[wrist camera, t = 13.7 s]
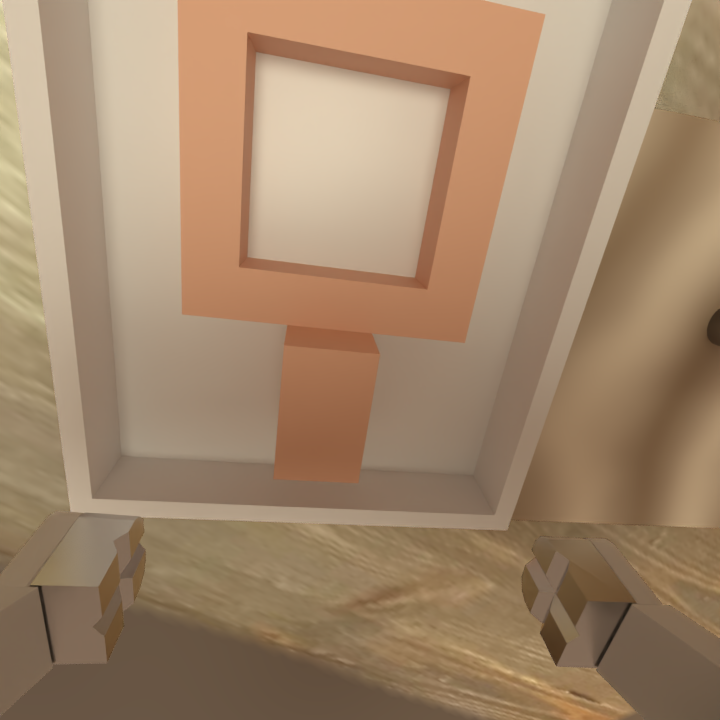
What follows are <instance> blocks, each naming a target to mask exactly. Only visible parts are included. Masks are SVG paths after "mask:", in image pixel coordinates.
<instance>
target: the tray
mask: <svg viewBox="0 0 720 720" xmlns="http://www.w3.org/2000/svg"><path fill="white" fill-rule="evenodd" d="M484 1H489V2H493V3H498V4H502V5H506V6H511V7H515V8H520V9H524V10H528V11H533V12H537V13H542V14H546V15H545V19H544V23H543V27H542V31H541V35H540V39H539V43H538V47H537V51H536V55H535V59H534V63H533V67H532V72H531V76H530V80H529V84H528V88H527V92H526V96H525V100H524V104H523V108H522V112H521V116H520V120H519V124H518V128H517V133H516V137H515V141H514V145H513V149H512V153H511V157H510V161H509V165H508V169H507V173H506V177H505V181H504V185H503V189H502V194H501V198H500V202H499V206H498V210H497V214H496V218H495V222H494V226H493V230H492V234H491V238H490V242H489V246H488V250H487V255H486V259H485V263H484V267H483V271H482V275H481V279H480V283H479V287H478V291H477V295H476V299H475V303H474V307H473V311H472V316H471V320H470V324H469V328H468V332H467V336H466V340H465V343H461V342H451V341H441V340H431V339H421V338H411V337H401V336H391V335H381V334H372V335H373V337H374V340H375V343H376V345H377V348H378V350H379V353H380V358H379V364H378V370H377V376H376V382H375V388H374V394H373V399H372V405H371V411H370V417H369V423H368V429H367V435H366V441H365V447H364V452H363V458H362V464H361V470H360V476H359V482H358V483H342V482H321V481H300V480H279V479H273V476H274V464H275V451H276V439H277V426H278V414H279V401H280V388H281V376H282V363H283V351H284V342H285V336H286V330H287V325H282V324H272V323H262V322H252V321H242V320H232V319H223V318H213V317H203V316H193V315H183V314H182V283H181V212H180V140H179V69H178V0H2V2H3V9H4V17H5V24H6V32H7V39H8V47H9V54H10V62H11V69H12V77H13V84H14V91H15V99H16V106H17V114H18V121H19V129H20V136H21V144H22V151H23V159H24V166H25V174H26V181H27V189H28V196H29V204H30V211H31V219H32V226H33V234H34V241H35V249H36V256H37V264H38V271H39V279H40V286H41V294H42V301H43V309H44V316H45V324H46V331H47V339H48V346H49V354H50V361H51V369H52V376H53V384H54V391H55V399H56V406H57V414H58V421H59V429H60V436H61V444H62V451H63V459H64V466H65V474H66V481H67V489H68V496H69V503H70V511H71V512H79V513H85V512H88V513H101V514H115V515H128V516H140V517H147V518H175V519H203V520H230V521H258V522H286V523H313V524H341V525H369V526H396V527H424V528H452V529H479V530H507V529H508V527H509V524H510V521H511V518H512V515H513V512H514V509H515V506H516V504H517V501H518V498H519V495H520V492H521V489H522V486H523V484H524V481H525V478H526V475H527V472H528V469H529V466H530V463H531V461H532V458H533V455H534V452H535V449H536V446H537V443H538V440H539V438H540V435H541V432H542V429H543V426H544V423H545V420H546V418H547V415H548V412H549V409H550V406H551V403H552V400H553V397H554V395H555V392H556V389H557V386H558V383H559V380H560V377H561V375H562V372H563V369H564V366H565V363H566V360H567V357H568V354H569V352H570V349H571V346H572V343H573V340H574V337H575V334H576V331H577V329H578V326H579V323H580V320H581V317H582V314H583V311H584V309H585V306H586V303H587V300H588V297H589V294H590V291H591V288H592V286H593V283H594V280H595V277H596V274H597V271H598V268H599V265H600V263H601V260H602V257H603V254H604V251H605V248H606V245H607V243H608V240H609V237H610V234H611V231H612V228H613V225H614V222H615V220H616V217H617V214H618V211H619V208H620V205H621V202H622V200H623V197H624V194H625V191H626V188H627V185H628V182H629V179H630V177H631V174H632V171H633V168H634V165H635V162H636V159H637V156H638V154H639V151H640V148H641V145H642V142H643V139H644V136H645V134H646V131H647V128H648V125H649V122H650V119H651V116H652V113H653V111H654V108H655V105H656V102H657V99H658V96H659V93H660V91H661V88H662V85H663V82H664V79H665V76H666V73H667V70H668V68H669V65H670V62H671V59H672V56H673V53H674V50H675V47H676V45H677V42H678V39H679V36H680V33H681V30H682V27H683V25H684V22H685V19H686V16H687V13H688V10H689V7H690V4H691V2H692V0H484ZM449 95H450V89H447V88H442V87H437V86H431V85H426V84H421V83H416V82H410V81H405V80H400V79H395V78H390V77H384V76H379V75H374V74H369V73H364V72H358V71H353V70H348V69H343V68H338V67H332V66H327V65H322V64H317V63H312V62H306V61H301V60H296V59H291V58H285V57H280V56H275V55H270V54H265V53H259V52H256V64H255V88H254V111H253V135H252V159H251V182H250V206H249V229H248V253H247V257H250V258H258V259H266V260H274V261H283V262H291V263H299V264H307V265H315V266H323V267H332V268H340V269H348V270H356V271H364V272H373V273H381V274H389V275H397V276H405V277H413V278H415V275H416V269H417V264H418V259H419V254H420V248H421V243H422V238H423V232H424V227H425V222H426V216H427V211H428V206H429V201H430V195H431V190H432V185H433V179H434V174H435V169H436V164H437V158H438V153H439V148H440V142H441V137H442V132H443V126H444V121H445V116H446V111H447V105H448V100H449Z"/></svg>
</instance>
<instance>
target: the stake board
mask: <svg viewBox="0 0 720 720" xmlns="http://www.w3.org/2000/svg"><path fill="white" fill-rule="evenodd" d="M511 520H524V521H549V522H574V523H599V524H623V525H648V526H673V527H698V528H720V121H715V120H710V119H705V118H701V117H696V116H691V115H686V114H681V113H676V112H671V111H666V110H661V109H657V108H654V111H653V113H652V116H651V119H650V122H649V125H648V128H647V131H646V134H645V136H644V139H643V142H642V145H641V148H640V151H639V154H638V156H637V159H636V162H635V165H634V168H633V171H632V174H631V177H630V179H629V182H628V185H627V188H626V191H625V194H624V197H623V200H622V202H621V205H620V208H619V211H618V214H617V217H616V220H615V222H614V225H613V228H612V231H611V234H610V237H609V240H608V243H607V245H606V248H605V251H604V254H603V257H602V260H601V263H600V265H599V268H598V271H597V274H596V277H595V280H594V283H593V286H592V288H591V291H590V294H589V297H588V300H587V303H586V306H585V309H584V311H583V314H582V317H581V320H580V323H579V326H578V329H577V331H576V334H575V337H574V340H573V343H572V346H571V349H570V352H569V354H568V357H567V360H566V363H565V366H564V369H563V372H562V375H561V377H560V380H559V383H558V386H557V389H556V392H555V395H554V397H553V400H552V403H551V406H550V409H549V412H548V415H547V418H546V420H545V423H544V426H543V429H542V432H541V435H540V438H539V440H538V443H537V446H536V449H535V452H534V455H533V458H532V461H531V463H530V466H529V469H528V472H527V475H526V478H525V481H524V484H523V486H522V489H521V492H520V495H519V498H518V501H517V504H516V506H515V509H514V512H513V515H512V518H511Z"/></svg>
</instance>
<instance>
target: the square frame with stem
mask: <svg viewBox="0 0 720 720" xmlns="http://www.w3.org/2000/svg"><path fill="white" fill-rule="evenodd" d="M545 15H546V14H542V13H537V12H533V11H528V10H524V9H520V8H515V7H511V6H506V5H502V4H498V3H493V2H489V1H484V0H178V69H179V140H180V212H181V283H182V314H183V315H193V316H203V317H213V318H223V319H232V320H242V321H252V322H262V323H272V324H282V325H287V330H286V336H285V342H284V351H283V363H282V376H281V388H280V401H279V414H278V426H277V439H276V451H275V464H274V476H273V479H279V480H300V481H321V482H342V483H358V482H359V476H360V470H361V464H362V458H363V452H364V447H365V441H366V435H367V429H368V423H369V417H370V411H371V405H372V399H373V394H374V388H375V382H376V376H377V370H378V364H379V358H380V353H379V350H378V348H377V345H376V343H375V340H374V337H373V335H372V334H381V335H391V336H401V337H411V338H421V339H431V340H441V341H451V342H461V343H465V340H466V336H467V332H468V328H469V324H470V320H471V316H472V311H473V307H474V303H475V299H476V295H477V291H478V287H479V283H480V279H481V275H482V271H483V267H484V263H485V259H486V255H487V250H488V246H489V242H490V238H491V234H492V230H493V226H494V222H495V218H496V214H497V210H498V206H499V202H500V198H501V194H502V189H503V185H504V181H505V177H506V173H507V169H508V165H509V161H510V157H511V153H512V149H513V145H514V141H515V137H516V133H517V128H518V124H519V120H520V116H521V112H522V108H523V104H524V100H525V96H526V92H527V88H528V84H529V80H530V76H531V72H532V67H533V63H534V59H535V55H536V51H537V47H538V43H539V39H540V35H541V31H542V27H543V23H544V19H545ZM256 52H259V53H265V54H270V55H275V56H280V57H285V58H291V59H296V60H301V61H306V62H312V63H317V64H322V65H327V66H332V67H338V68H343V69H348V70H353V71H358V72H364V73H369V74H374V75H379V76H384V77H390V78H395V79H400V80H405V81H410V82H416V83H421V84H426V85H431V86H437V87H442V88H447V89H450V95H449V100H448V105H447V111H446V116H445V121H444V126H443V132H442V137H441V142H440V148H439V153H438V158H437V164H436V169H435V174H434V179H433V185H432V190H431V195H430V201H429V206H428V211H427V216H426V222H425V227H424V232H423V238H422V243H421V248H420V254H419V259H418V264H417V269H416V275H415V278H413V277H405V276H397V275H389V274H381V273H373V272H364V271H356V270H348V269H340V268H332V267H323V266H315V265H307V264H299V263H291V262H283V261H274V260H266V259H258V258H250V257H247V253H248V229H249V206H250V182H251V159H252V135H253V111H254V88H255V64H256Z"/></svg>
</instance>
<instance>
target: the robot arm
mask: <svg viewBox="0 0 720 720" xmlns="http://www.w3.org/2000/svg"><path fill="white" fill-rule="evenodd" d="M143 534H144V522H143V518H141V517H140V516H128V515H115V514H101V513H88V512H85V513H79V512H67V511H55V512H54V513H52V514H50V515H49V516H48V517H47V518H46V519H45V520H44V521H43V523H42V524H41V525H40V526H39V527H38V529H37V530H36V531H35V532H34V534H33V535H32V536H31V537H30V539H29V540H28V541H27V542H26V543H25V545H24V546H23V547H22V548H21V550H20V551H19V552H18V553H17V555H16V556H15V557H14V558H13V559H12V561H11V562H10V563H9V564H8V566H7V567H6V568H5V569H4V571H3V572H2V573H1V574H0V716H1V715H2V714H3V713H4V712H5V711H6V710H8V708H10V707H11V706H12V705H13V704H14V703H15V702H16V701H17V700H18V699H19V698H21V697H22V696H23V695H24V694H25V693H26V692H27V691H28V690H29V689H30V688H31V687H32V686H33V685H35V684H36V683H37V682H38V681H39V680H40V679H41V678H42V677H43V676H44V675H45V674H47V673H48V672H49V671H50V670H51V669H52V668H53V665H52V664H90V663H107V662H108V660H109V658H110V656H111V654H112V651H113V649H114V647H115V645H116V642H117V640H118V638H119V635H120V633H121V631H122V629H123V627H124V621H123V611H124V610H125V609H127V608H128V607H129V606H131V605H132V604H133V603H134V602H135V599H136V597H137V594H138V592H139V590H140V587H141V583H142V579H143V576H144V572H145V563H146V551H145V549H144V548H143V547H142V546H141V544H140V543H139V542H140V540H141V538H142V536H143ZM532 551H533V554H534V556H535V558H534V559H533V560H531V561H530V562H529V563H528V564H526V565H525V568H524V571H523V574H522V592H523V596H524V600H525V603H526V605H527V607H528V609H529V611H530V613H531V614H532V615H533V616H535V617H536V618H537V619H538V620H539V621H540V622H541V623H542V626H541V631H540V634H541V636H542V638H543V640H544V642H545V644H546V646H547V648H548V651H549V653H550V655H551V657H552V659H553V661H554V663H555V665H556V666H559V667H584V668H597V669H596V671H597V672H598V673H599V674H600V675H601V676H602V677H603V678H604V679H605V680H606V681H607V682H608V683H609V684H610V685H611V686H612V687H613V688H614V689H615V690H616V691H617V692H618V693H619V694H620V695H621V696H622V697H623V698H624V699H625V700H626V701H627V702H628V703H629V704H630V705H631V706H632V707H633V708H634V710H635V711H636V712H637V713H638V714H640V716H642V717H643V719H644V720H720V638H718V637H717V636H715V635H714V634H712V633H711V632H709V631H708V630H706V629H705V628H703V627H702V626H700V625H699V624H697V623H696V622H694V621H693V620H691V619H690V618H688V617H687V616H685V615H684V614H682V613H681V612H679V611H678V610H676V609H675V608H673V607H672V606H670V605H663V604H662V603H661V602H660V601H659V599H658V598H657V597H656V596H655V594H654V593H653V592H652V591H651V589H650V588H649V587H648V586H647V584H646V583H645V582H644V581H643V579H642V578H641V577H640V576H639V575H638V573H637V572H636V571H635V570H634V568H633V567H632V566H631V565H630V563H629V562H628V561H627V560H626V558H625V557H624V556H623V555H622V553H621V552H620V551H619V550H618V548H617V547H616V546H615V545H614V544H613V543H612V542H611V541H609V540H607V539H604V538H573V537H548V536H540V537H539V538H538V539H537V540H536V541H535V543H534V545H533V548H532Z"/></svg>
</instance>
